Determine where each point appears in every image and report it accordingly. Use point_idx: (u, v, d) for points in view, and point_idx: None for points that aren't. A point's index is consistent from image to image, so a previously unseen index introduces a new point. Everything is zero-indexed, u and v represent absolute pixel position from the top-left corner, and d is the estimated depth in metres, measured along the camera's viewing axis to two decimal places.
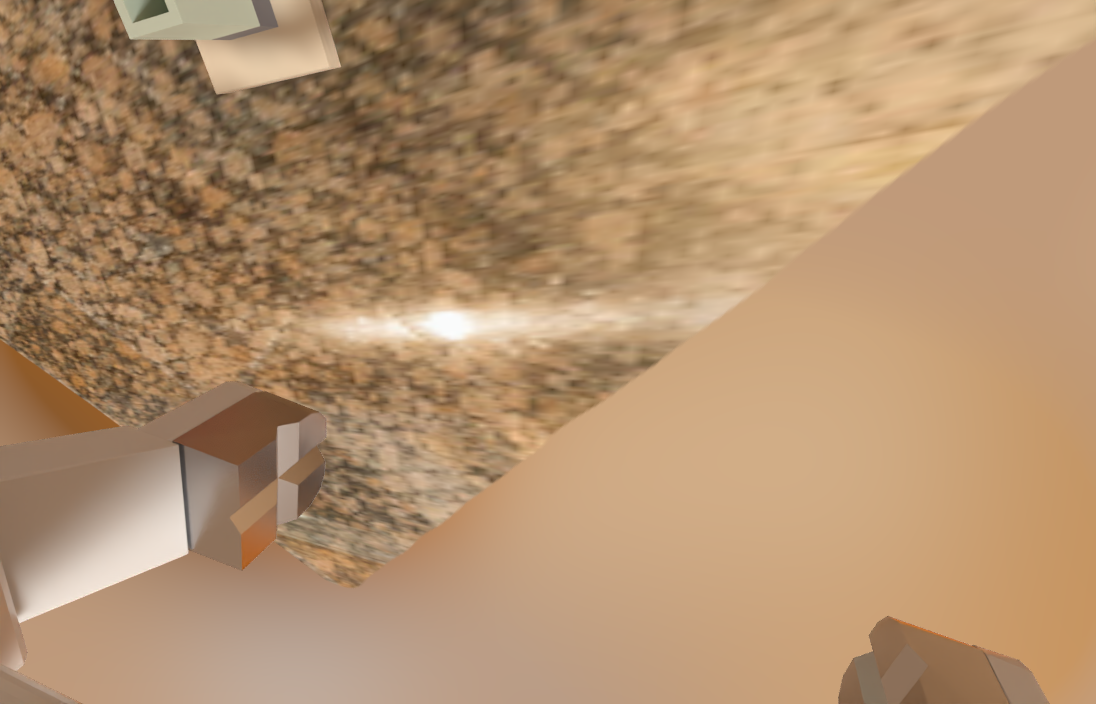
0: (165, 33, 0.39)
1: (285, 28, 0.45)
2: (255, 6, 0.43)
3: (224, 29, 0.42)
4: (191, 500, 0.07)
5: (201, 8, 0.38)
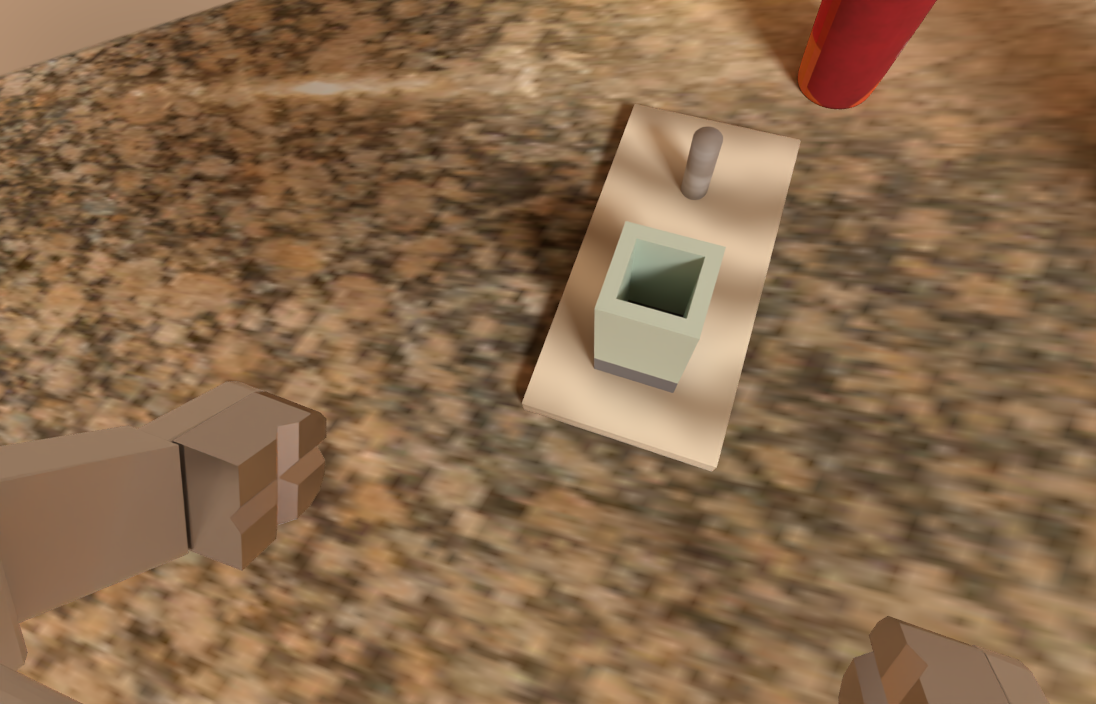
0: (633, 330, 0.28)
1: (681, 399, 0.34)
2: None
3: (658, 364, 0.31)
4: (191, 500, 0.07)
5: None
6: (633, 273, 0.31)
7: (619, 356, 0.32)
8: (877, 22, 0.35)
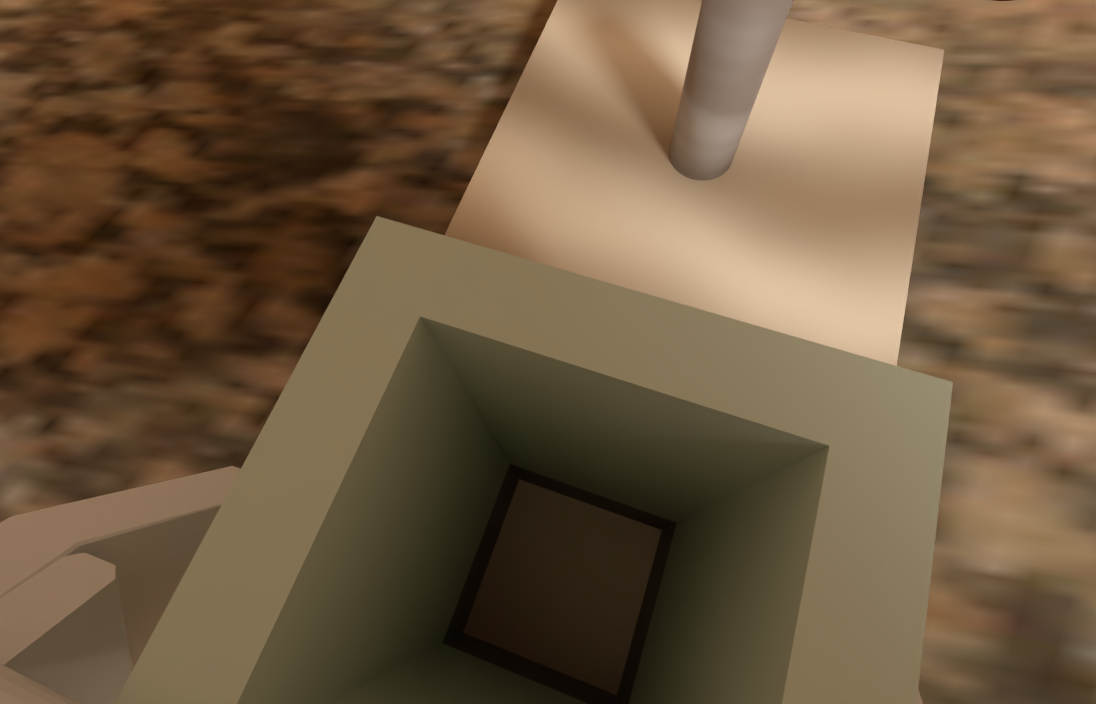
0: None
1: None
2: None
3: None
4: None
5: None
6: (489, 423, 0.08)
7: None
8: None
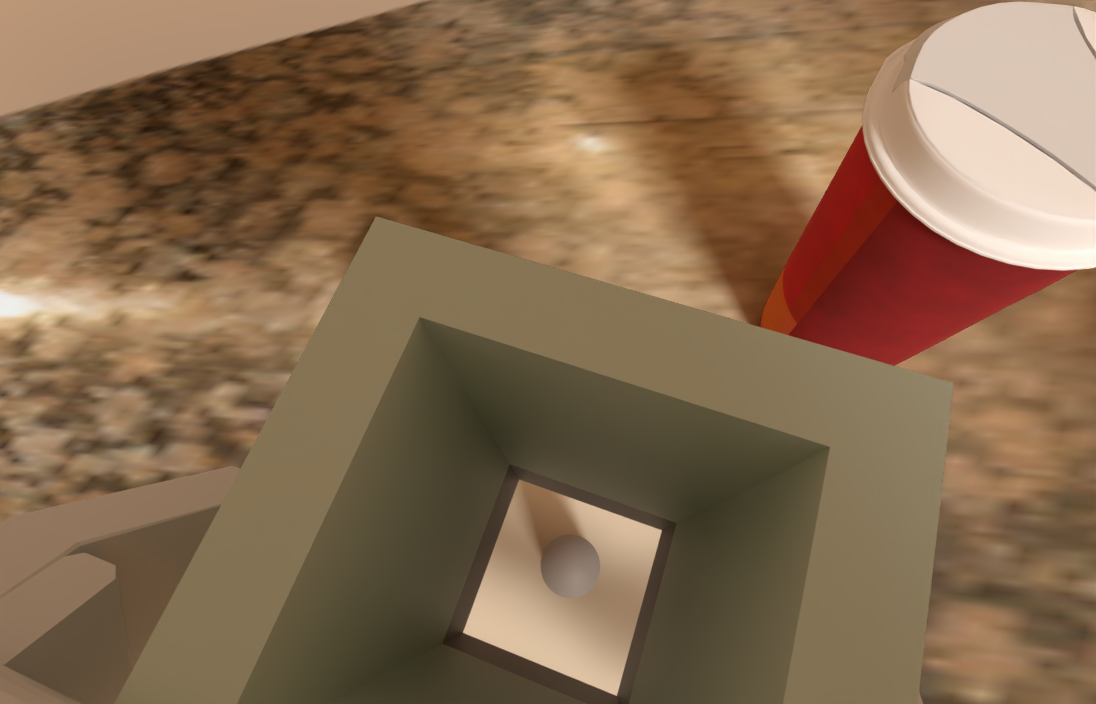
0: None
1: None
2: None
3: None
4: None
5: None
6: (489, 424, 0.08)
7: None
8: (902, 327, 0.18)
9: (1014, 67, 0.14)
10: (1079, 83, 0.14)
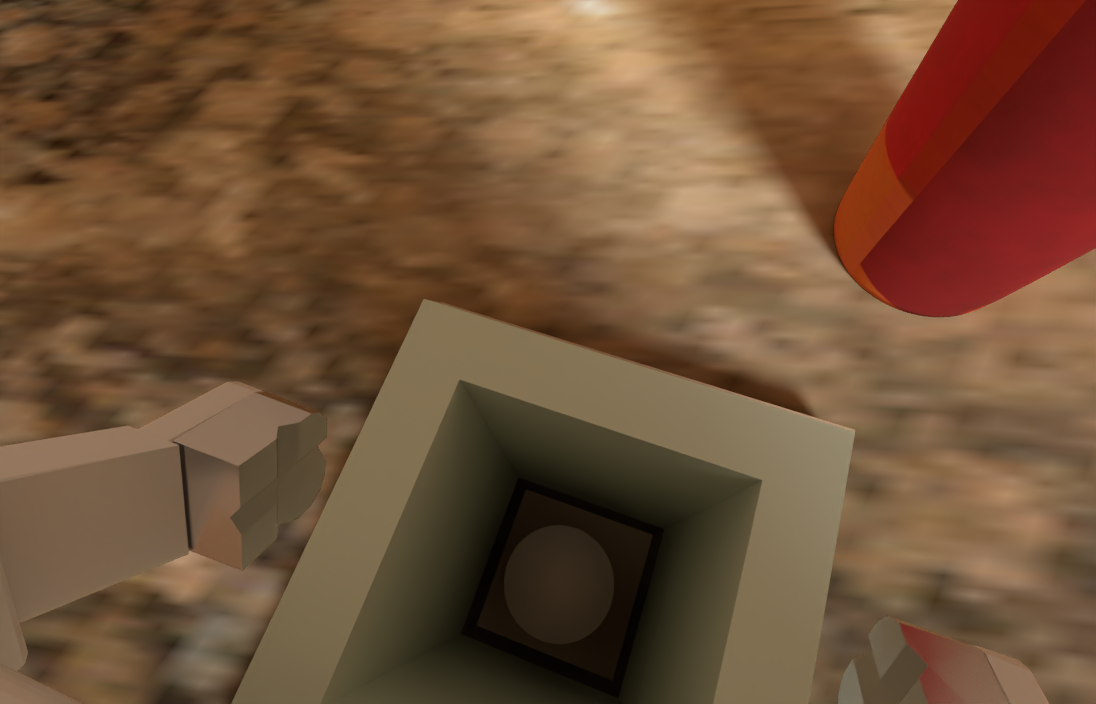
0: None
1: None
2: None
3: None
4: (191, 500, 0.07)
5: None
6: (504, 447, 0.10)
7: None
8: None
9: None
10: None
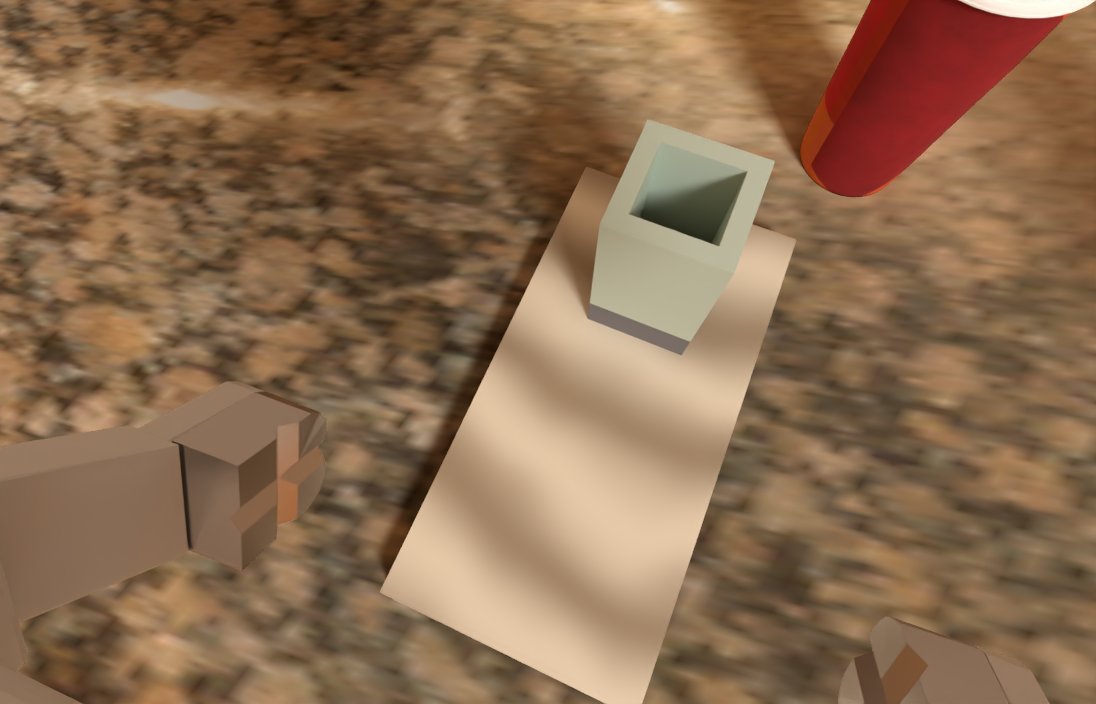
0: (646, 259, 0.21)
1: (600, 607, 0.25)
2: None
3: (671, 313, 0.24)
4: (191, 500, 0.07)
5: None
6: (648, 197, 0.25)
7: (622, 300, 0.25)
8: (915, 103, 0.25)
9: None
10: None
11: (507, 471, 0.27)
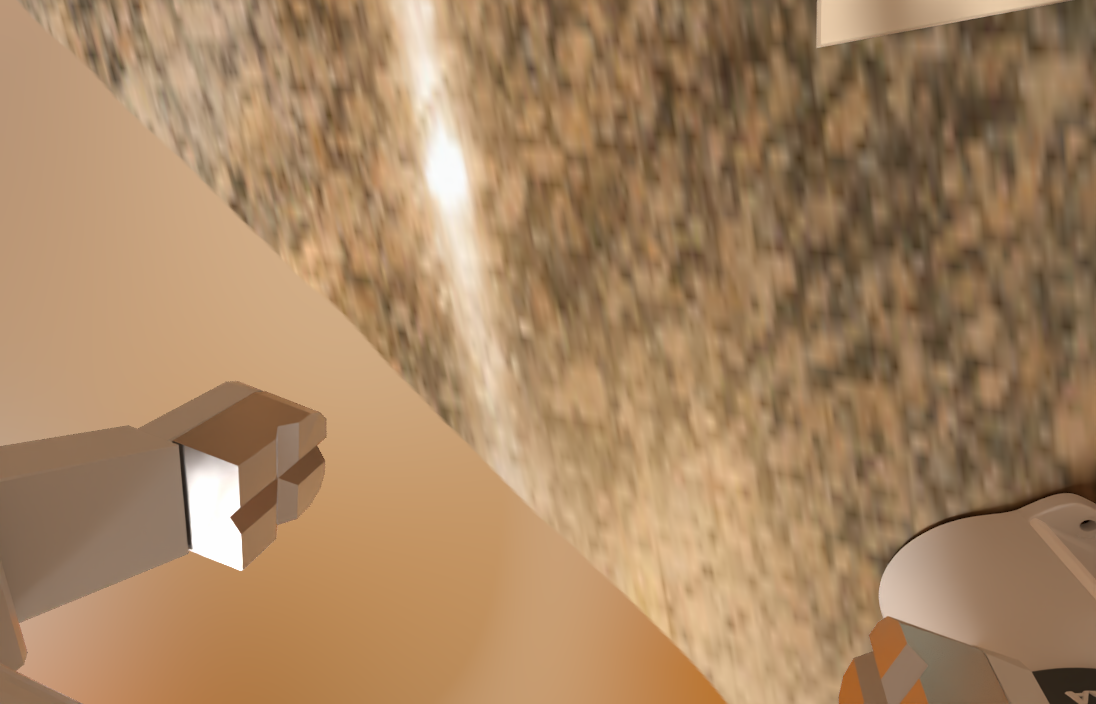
0: None
1: None
2: None
3: None
4: (191, 500, 0.07)
5: None
6: None
7: None
8: None
9: None
10: None
11: None
